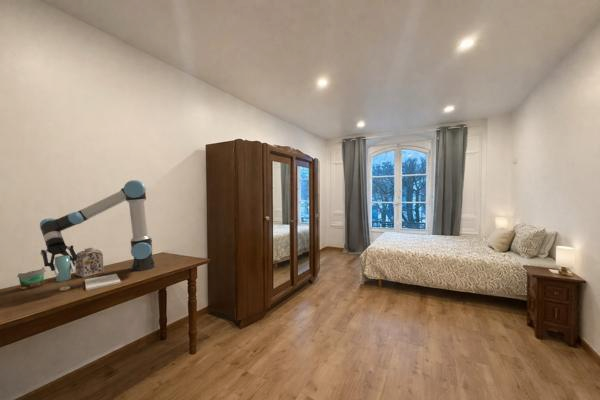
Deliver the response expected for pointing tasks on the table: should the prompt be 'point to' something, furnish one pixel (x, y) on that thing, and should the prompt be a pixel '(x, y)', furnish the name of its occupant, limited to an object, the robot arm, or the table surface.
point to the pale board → (102, 281)
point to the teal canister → (63, 267)
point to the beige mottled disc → (64, 288)
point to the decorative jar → (89, 262)
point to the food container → (31, 279)
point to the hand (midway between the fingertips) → (65, 272)
